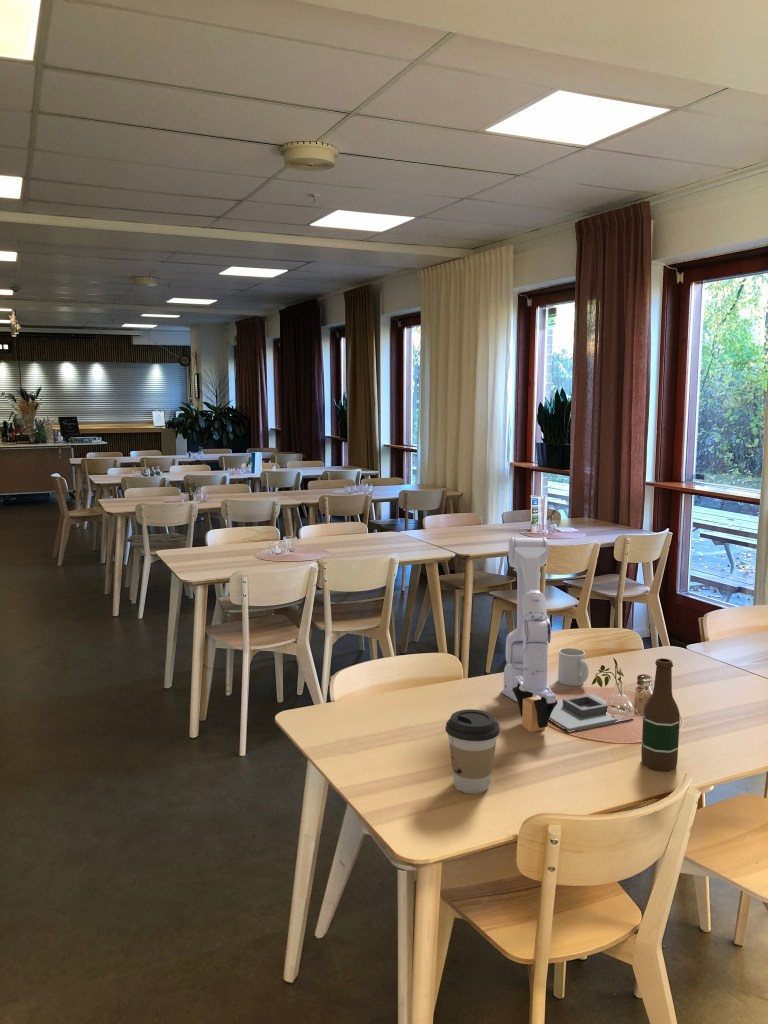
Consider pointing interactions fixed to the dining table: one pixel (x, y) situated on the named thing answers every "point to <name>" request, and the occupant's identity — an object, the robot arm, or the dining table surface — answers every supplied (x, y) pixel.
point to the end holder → (581, 713)
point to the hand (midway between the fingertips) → (533, 721)
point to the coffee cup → (472, 748)
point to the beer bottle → (661, 722)
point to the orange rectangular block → (530, 715)
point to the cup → (572, 667)
